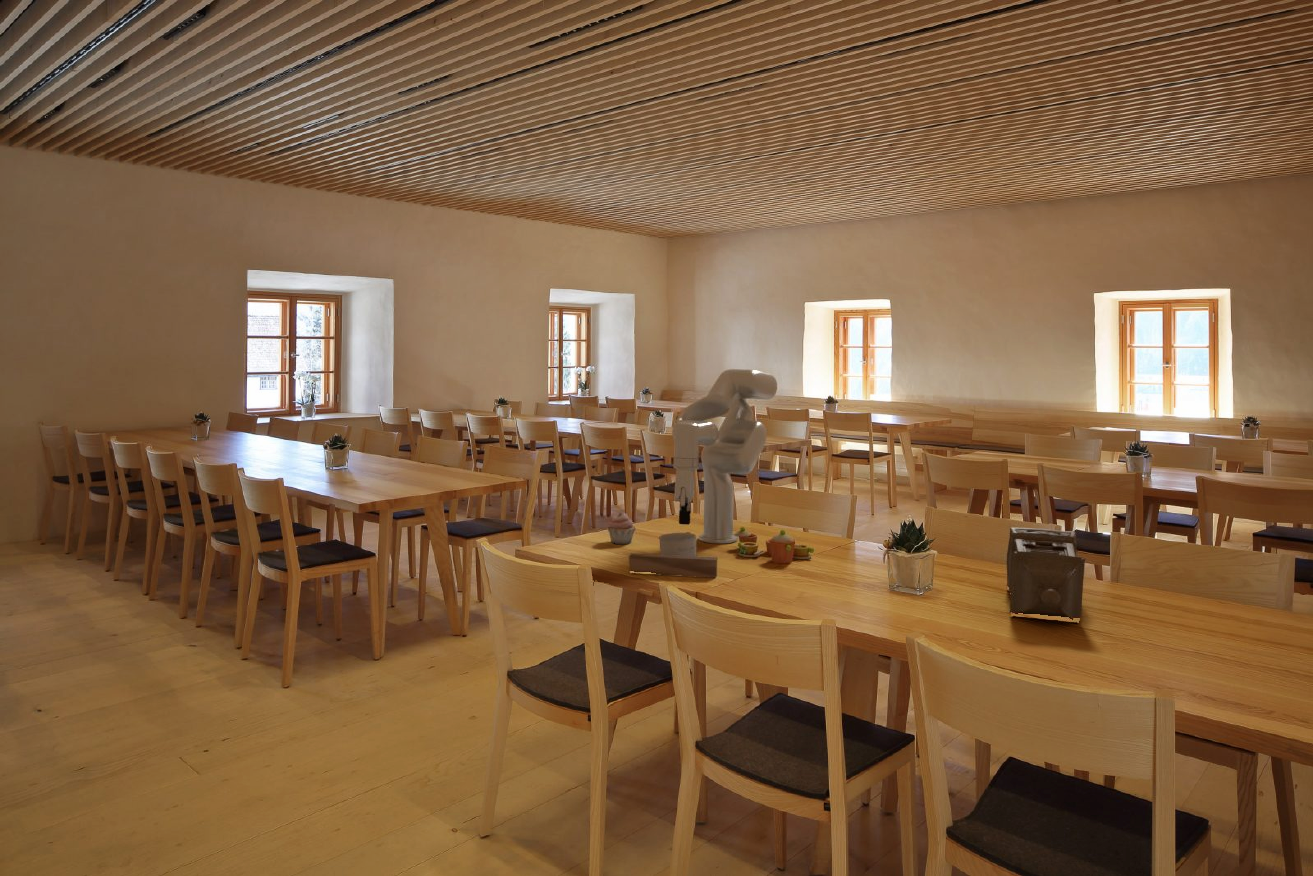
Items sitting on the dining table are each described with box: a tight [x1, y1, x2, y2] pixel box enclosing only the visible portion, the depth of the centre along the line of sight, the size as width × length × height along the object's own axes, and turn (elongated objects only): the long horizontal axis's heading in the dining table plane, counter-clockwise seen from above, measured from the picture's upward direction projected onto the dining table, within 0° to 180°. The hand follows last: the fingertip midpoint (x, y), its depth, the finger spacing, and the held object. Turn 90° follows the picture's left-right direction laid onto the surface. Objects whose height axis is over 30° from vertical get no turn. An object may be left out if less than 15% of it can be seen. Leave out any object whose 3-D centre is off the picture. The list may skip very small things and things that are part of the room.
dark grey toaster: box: [1006, 526, 1086, 620], centre depth 217 cm, size 35×18×18 cm, turn 160°
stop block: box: [628, 553, 718, 579], centre depth 250 cm, size 3×24×5 cm, turn 81°
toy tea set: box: [733, 526, 815, 564], centre depth 273 cm, size 26×16×10 cm, turn 52°
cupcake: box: [606, 511, 637, 545], centre depth 289 cm, size 9×9×10 cm
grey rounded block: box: [658, 531, 697, 556], centre depth 265 cm, size 14×11×8 cm
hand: (684, 523), depth 274 cm, fingers closed
